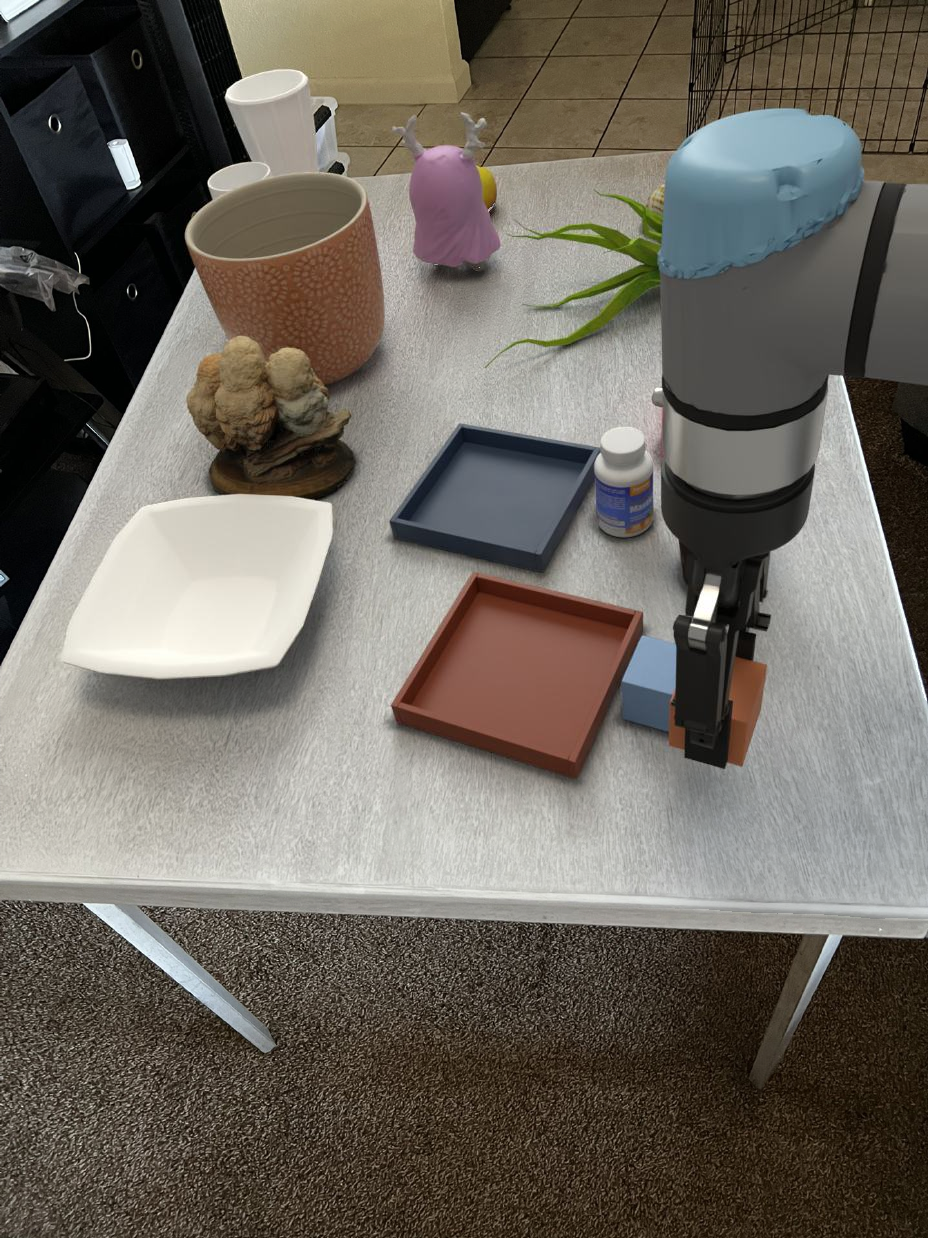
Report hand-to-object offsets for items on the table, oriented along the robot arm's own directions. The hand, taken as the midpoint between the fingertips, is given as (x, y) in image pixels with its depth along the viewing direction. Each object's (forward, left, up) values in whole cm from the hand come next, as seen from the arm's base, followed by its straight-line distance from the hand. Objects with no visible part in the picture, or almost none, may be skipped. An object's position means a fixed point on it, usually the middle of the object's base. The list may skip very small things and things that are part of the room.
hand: (717, 725), depth 65 cm
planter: (+62, -44, -9) cm, 76 cm away
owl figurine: (+54, -24, -9) cm, 60 cm away
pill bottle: (+16, -27, -9) cm, 33 cm away
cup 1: (+78, -58, -9) cm, 98 cm away
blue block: (+6, -7, -9) cm, 13 cm away
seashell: (+27, -84, -9) cm, 89 cm away
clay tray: (+18, -6, -9) cm, 21 cm away
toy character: (+54, -69, -9) cm, 88 cm away
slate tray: (+29, -26, -9) cm, 40 cm away
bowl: (+48, -3, -9) cm, 49 cm away
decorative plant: (+30, -60, -9) cm, 68 cm away
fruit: (+61, -84, -9) cm, 104 cm away
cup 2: (+81, -72, -9) cm, 109 cm away
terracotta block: (0, 0, 0) cm, 0 cm away
